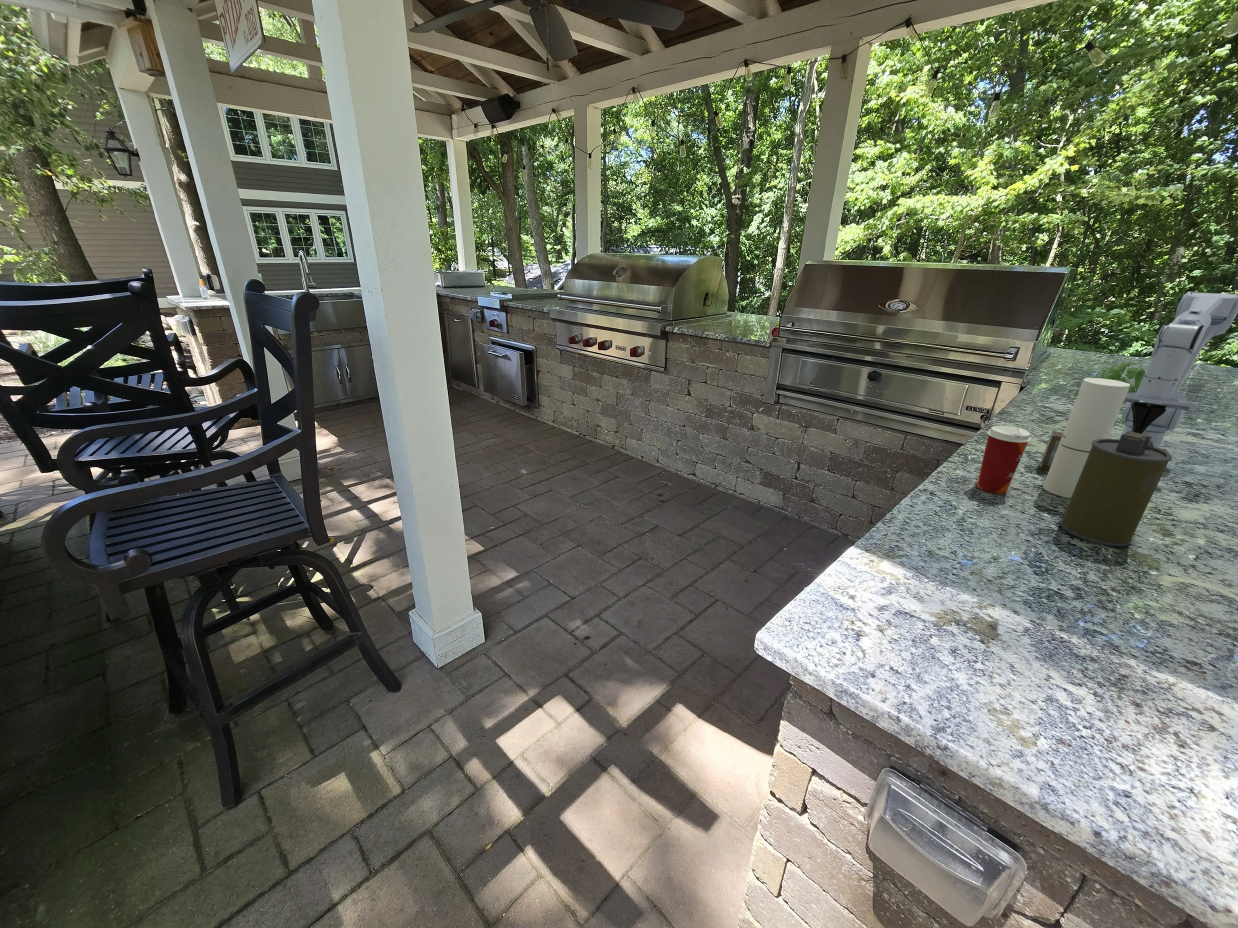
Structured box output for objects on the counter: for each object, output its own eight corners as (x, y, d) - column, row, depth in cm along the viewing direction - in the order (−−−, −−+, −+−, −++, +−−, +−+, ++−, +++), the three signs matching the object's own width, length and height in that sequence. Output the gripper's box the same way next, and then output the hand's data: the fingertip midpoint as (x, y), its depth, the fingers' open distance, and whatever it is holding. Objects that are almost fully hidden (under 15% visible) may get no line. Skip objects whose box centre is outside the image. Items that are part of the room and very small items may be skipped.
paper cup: (1019, 497, 109) (1040, 437, 104) (980, 494, 111) (999, 435, 105) (1001, 482, 116) (1020, 425, 111) (965, 479, 118) (982, 423, 112)
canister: (1115, 552, 89) (1164, 449, 82) (1048, 526, 98) (1086, 430, 90) (1142, 537, 94) (1191, 438, 86) (1076, 513, 103) (1114, 421, 95)
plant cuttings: (1129, 436, 164) (1075, 386, 172) (1193, 404, 151) (1132, 350, 159) (1103, 462, 144) (1043, 403, 152) (1174, 427, 132) (1105, 365, 139)
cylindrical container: (1077, 487, 114) (1121, 380, 104) (1089, 500, 108) (1136, 388, 98) (1039, 482, 116) (1078, 376, 107) (1048, 494, 111) (1090, 384, 101)
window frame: (1039, 464, 126) (1052, 430, 122) (1149, 485, 115) (1166, 449, 111) (1039, 469, 123) (1052, 435, 120) (1152, 491, 112) (1170, 454, 108)
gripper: (1120, 375, 115) (1097, 431, 119) (1212, 386, 107) (1182, 446, 112) (1116, 371, 120) (1094, 425, 125) (1203, 381, 112) (1175, 438, 117)
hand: (1135, 434), depth 119 cm, fingers closed
